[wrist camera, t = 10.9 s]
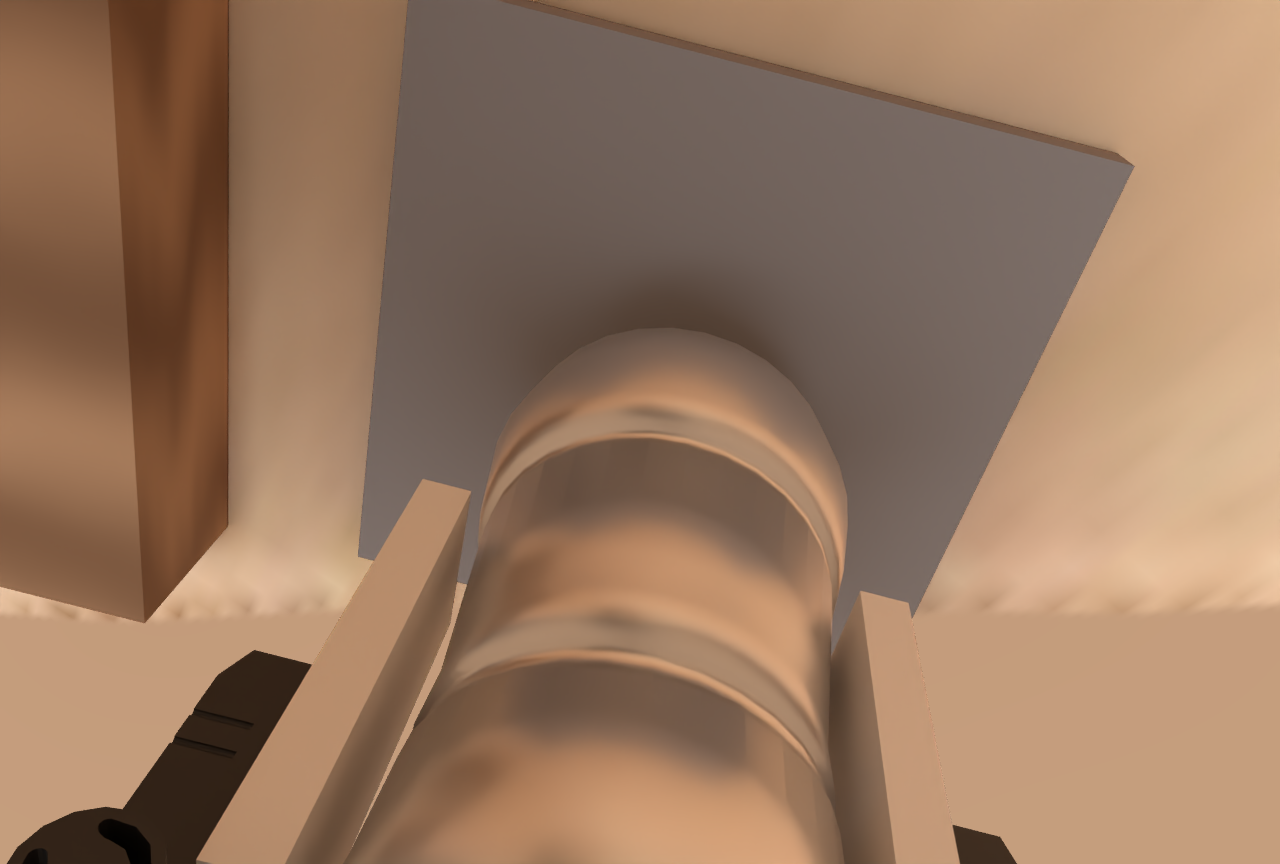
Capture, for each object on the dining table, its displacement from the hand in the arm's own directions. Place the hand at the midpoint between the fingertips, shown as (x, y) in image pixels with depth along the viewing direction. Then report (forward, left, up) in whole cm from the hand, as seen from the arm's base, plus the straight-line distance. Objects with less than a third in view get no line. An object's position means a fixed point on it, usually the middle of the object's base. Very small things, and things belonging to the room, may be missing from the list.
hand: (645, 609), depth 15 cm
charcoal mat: (0, 0, -8) cm, 8 cm away
